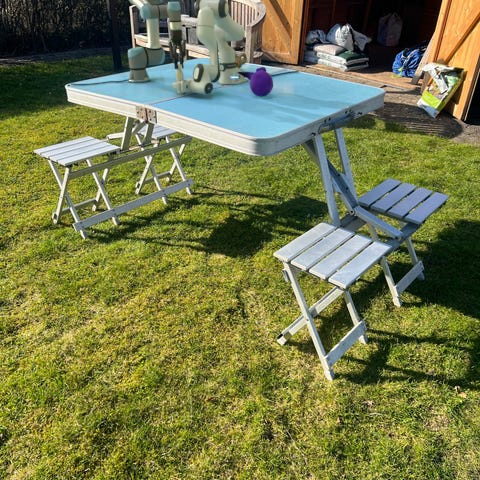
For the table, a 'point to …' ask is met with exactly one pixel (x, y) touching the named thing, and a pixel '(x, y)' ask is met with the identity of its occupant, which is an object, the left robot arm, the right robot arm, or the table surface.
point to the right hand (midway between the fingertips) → (179, 82)
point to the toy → (259, 81)
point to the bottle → (179, 78)
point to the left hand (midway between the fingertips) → (179, 68)
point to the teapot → (238, 59)
